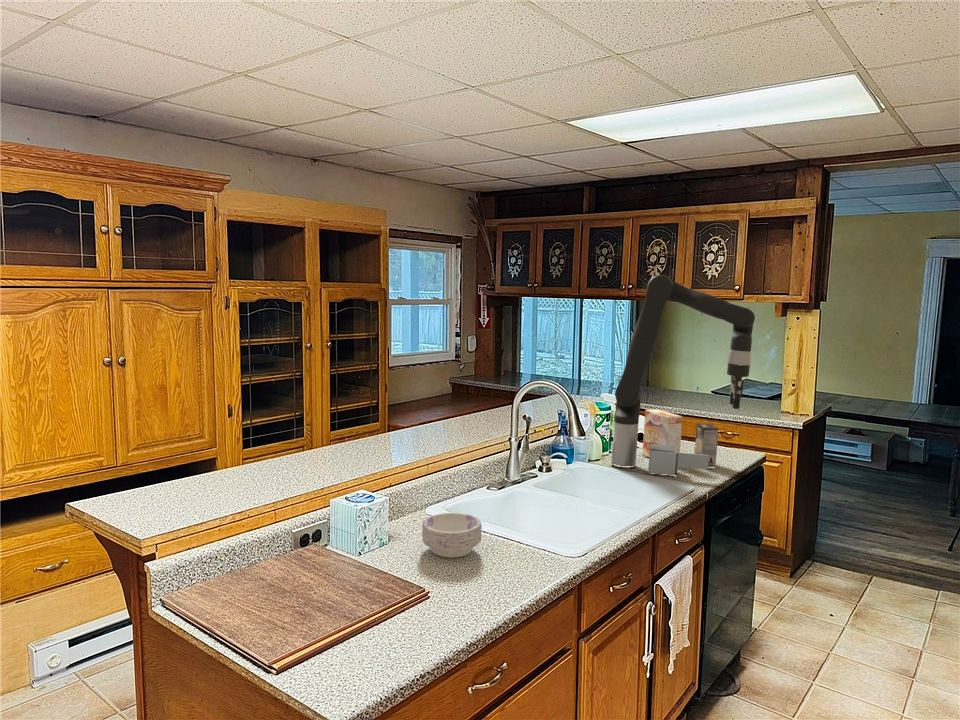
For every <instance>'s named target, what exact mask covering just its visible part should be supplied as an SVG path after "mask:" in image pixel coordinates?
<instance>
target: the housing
mask: <svg viewBox="0 0 960 720" xmlns="http://www.w3.org/2000/svg"><path fill="white" fill-rule="evenodd" d="M650 450H651V451H661V452H672V453H675V447H674V446H668V445H657V444H650ZM649 465H650V454H649V458H648V466H649Z"/></svg>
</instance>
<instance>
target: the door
mask: <svg viewBox="0 0 960 720" xmlns="http://www.w3.org/2000/svg"><path fill="white" fill-rule="evenodd" d="M708 460H709V455H702V454H694V453H693V452H692V453H691V452H690V453H689V452H681V451H680V452H676V453H672V452H661V451H651V450H650V465H649V464H648V470H649V473H655V474H668V475H676V476H677V477H678V468H687V469H697V470H698V469H699V470H708V469H709V468H708Z"/></svg>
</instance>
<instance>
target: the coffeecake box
mask: <svg viewBox="0 0 960 720" xmlns="http://www.w3.org/2000/svg"><path fill="white" fill-rule="evenodd" d="M643 426H644V427H643V439H642V440H643V441H642V454H643V455H645V456H648V457H649V454H650V444H657V445H668V446H674V447H675V453H676V452H681V443H682V441H681V439H682V428H683V416H682V415H678V414H675V413H672V412H668V411H665V410H662V409H658V408H655V409H645V411H644V425H643Z"/></svg>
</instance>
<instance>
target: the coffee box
mask: <svg viewBox="0 0 960 720" xmlns="http://www.w3.org/2000/svg"><path fill="white" fill-rule="evenodd" d="M695 427H696V429H695V441H694V451H693V452H694V453H693V454H702V455H709V460H708V467H715V468H716V466H717V465H716V464H717V455H718V454H717V453H718V444H719V442H718V441H719V440H718V439H719V427H717V426H716V425H714V424H712V423H696V426H695Z"/></svg>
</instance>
